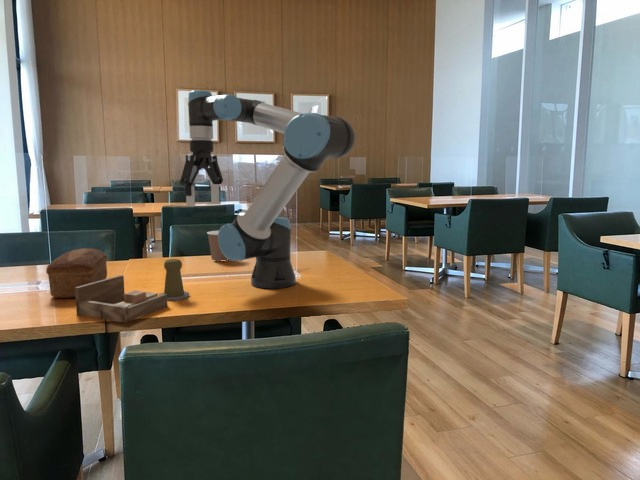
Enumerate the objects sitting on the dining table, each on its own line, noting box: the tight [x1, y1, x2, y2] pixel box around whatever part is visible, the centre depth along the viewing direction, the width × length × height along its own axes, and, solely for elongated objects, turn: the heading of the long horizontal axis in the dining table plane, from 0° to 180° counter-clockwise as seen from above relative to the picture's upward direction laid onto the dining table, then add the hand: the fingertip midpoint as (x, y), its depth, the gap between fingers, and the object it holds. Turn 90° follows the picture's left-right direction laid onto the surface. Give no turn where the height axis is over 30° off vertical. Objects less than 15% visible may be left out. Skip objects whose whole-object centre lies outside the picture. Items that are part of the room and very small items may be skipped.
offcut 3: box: [145, 291, 159, 300], centre depth 137 cm, size 4×4×4 cm
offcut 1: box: [114, 301, 134, 306], centre depth 129 cm, size 4×4×4 cm
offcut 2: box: [123, 289, 147, 304], centre depth 132 cm, size 4×4×6 cm
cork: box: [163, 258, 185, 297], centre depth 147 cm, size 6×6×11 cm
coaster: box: [158, 290, 190, 302], centre depth 148 cm, size 9×9×1 cm
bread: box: [45, 247, 109, 299], centre depth 156 cm, size 14×28×12 cm, turn 13°
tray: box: [74, 274, 168, 324], centre depth 134 cm, size 17×16×8 cm
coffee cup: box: [206, 230, 227, 261], centre depth 203 cm, size 10×10×12 cm
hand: (203, 204), depth 162 cm, fingers open, 13 cm apart
